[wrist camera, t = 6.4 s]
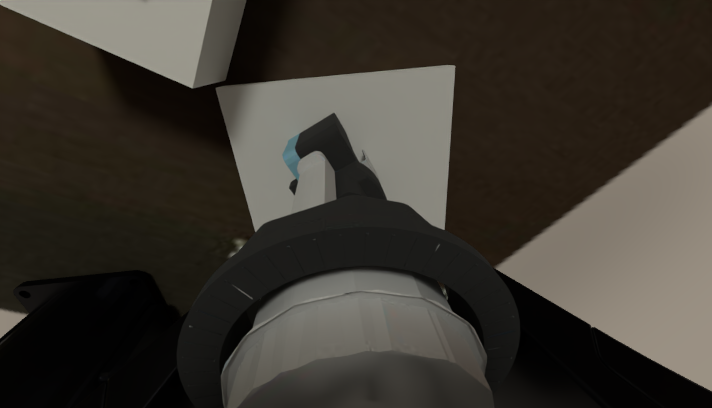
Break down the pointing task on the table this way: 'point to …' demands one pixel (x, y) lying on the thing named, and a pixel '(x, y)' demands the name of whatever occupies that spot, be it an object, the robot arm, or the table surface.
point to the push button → (348, 302)
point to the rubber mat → (362, 125)
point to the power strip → (150, 32)
